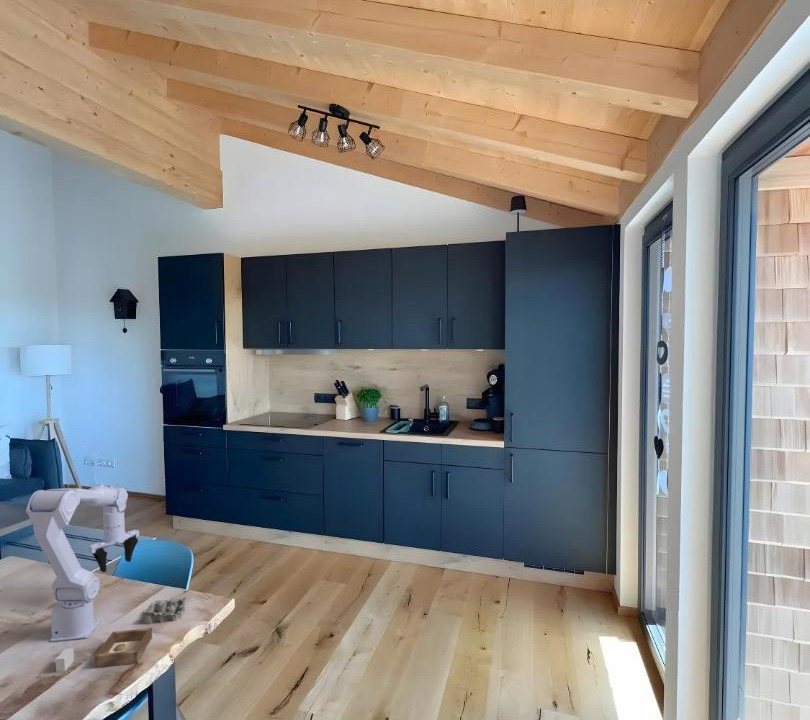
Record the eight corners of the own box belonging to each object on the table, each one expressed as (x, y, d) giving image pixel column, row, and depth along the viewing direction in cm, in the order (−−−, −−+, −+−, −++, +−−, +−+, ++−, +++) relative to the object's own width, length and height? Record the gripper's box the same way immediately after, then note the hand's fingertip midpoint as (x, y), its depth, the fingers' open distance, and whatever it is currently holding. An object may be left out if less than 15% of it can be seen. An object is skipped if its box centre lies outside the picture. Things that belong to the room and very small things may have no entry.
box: (95, 667, 118) (94, 656, 118) (113, 642, 128) (112, 631, 128) (137, 663, 120) (137, 652, 120) (152, 638, 130) (151, 628, 130)
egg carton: (141, 626, 136) (140, 612, 136) (151, 611, 143) (150, 598, 143) (180, 622, 137) (179, 608, 137) (187, 607, 145) (187, 594, 145)
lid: (27, 687, 113) (26, 671, 113) (54, 656, 124) (54, 641, 124) (76, 682, 114) (75, 666, 114) (99, 651, 125) (98, 637, 125)
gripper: (96, 535, 141) (98, 579, 142) (143, 519, 153) (145, 559, 154) (84, 530, 144) (86, 573, 145) (131, 515, 157) (133, 554, 158)
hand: (115, 566), depth 150 cm, fingers open, 7 cm apart
